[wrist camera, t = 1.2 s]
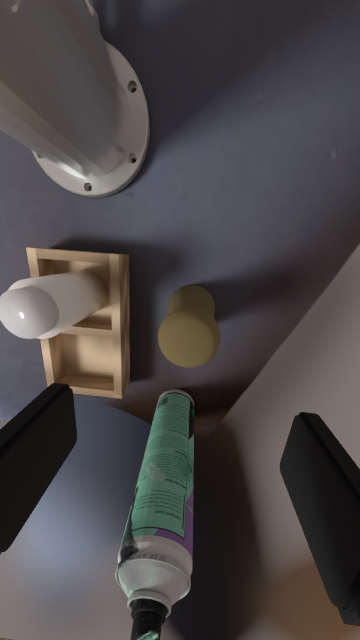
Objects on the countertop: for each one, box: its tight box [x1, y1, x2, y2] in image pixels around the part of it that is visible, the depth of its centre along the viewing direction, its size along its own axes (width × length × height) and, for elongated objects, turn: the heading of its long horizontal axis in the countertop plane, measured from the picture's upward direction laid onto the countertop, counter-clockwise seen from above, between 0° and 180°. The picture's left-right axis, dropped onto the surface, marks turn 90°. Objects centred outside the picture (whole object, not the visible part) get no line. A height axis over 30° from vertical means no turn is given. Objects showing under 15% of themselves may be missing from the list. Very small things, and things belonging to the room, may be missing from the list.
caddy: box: [26, 248, 130, 399], centre depth 26 cm, size 18×10×4 cm, turn 176°
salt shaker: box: [0, 270, 108, 339], centre depth 21 cm, size 5×5×10 cm
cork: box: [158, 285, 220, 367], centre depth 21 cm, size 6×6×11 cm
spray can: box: [115, 389, 194, 640], centre depth 21 cm, size 6×6×20 cm
